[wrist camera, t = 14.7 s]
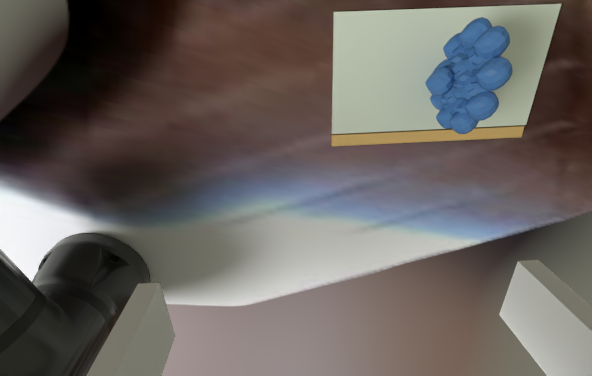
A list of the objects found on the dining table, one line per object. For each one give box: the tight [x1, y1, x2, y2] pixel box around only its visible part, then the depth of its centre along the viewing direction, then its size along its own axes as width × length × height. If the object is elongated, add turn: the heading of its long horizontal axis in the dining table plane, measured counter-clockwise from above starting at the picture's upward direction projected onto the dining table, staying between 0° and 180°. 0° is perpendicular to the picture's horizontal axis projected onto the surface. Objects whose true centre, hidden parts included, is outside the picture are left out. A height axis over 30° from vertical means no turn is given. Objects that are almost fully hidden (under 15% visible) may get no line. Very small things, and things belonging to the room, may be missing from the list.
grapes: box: [425, 17, 513, 134], centre depth 33 cm, size 12×7×12 cm, turn 3°
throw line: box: [332, 126, 525, 146], centre depth 42 cm, size 26×2×1 cm, turn 92°
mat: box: [332, 4, 561, 134], centre depth 39 cm, size 26×14×1 cm, turn 92°
